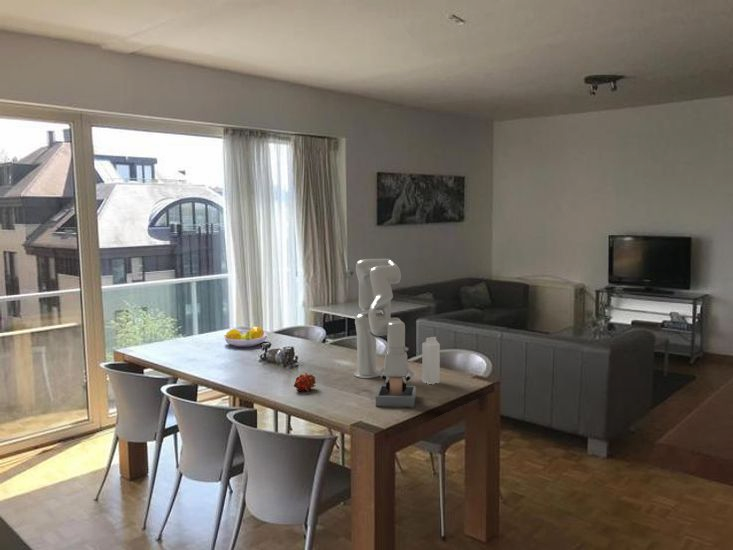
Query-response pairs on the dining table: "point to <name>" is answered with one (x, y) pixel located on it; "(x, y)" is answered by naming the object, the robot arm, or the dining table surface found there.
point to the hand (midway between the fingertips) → (396, 390)
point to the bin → (396, 397)
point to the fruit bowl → (245, 337)
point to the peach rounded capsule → (395, 385)
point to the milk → (431, 361)
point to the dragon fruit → (305, 382)
